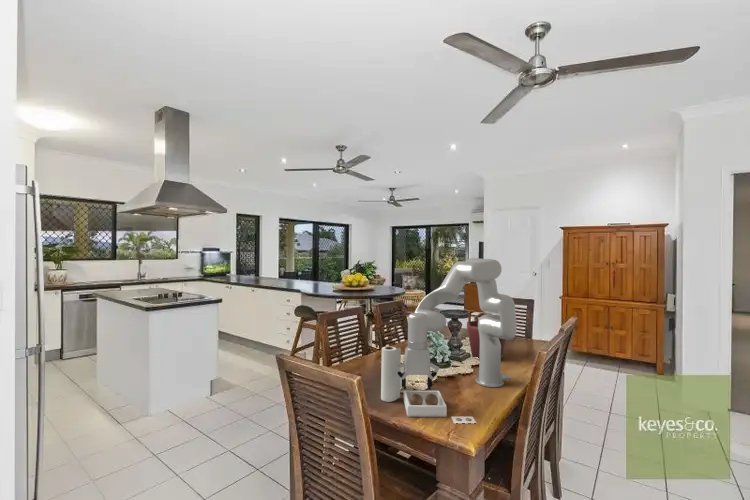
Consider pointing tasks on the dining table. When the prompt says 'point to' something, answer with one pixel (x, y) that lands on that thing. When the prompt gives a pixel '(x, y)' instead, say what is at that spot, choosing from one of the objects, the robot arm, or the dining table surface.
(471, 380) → the dining table surface
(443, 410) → the bin
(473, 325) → the bucket
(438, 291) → the robot arm
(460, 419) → the card
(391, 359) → the paper towel roll
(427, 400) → the ball
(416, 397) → the walnut ball
